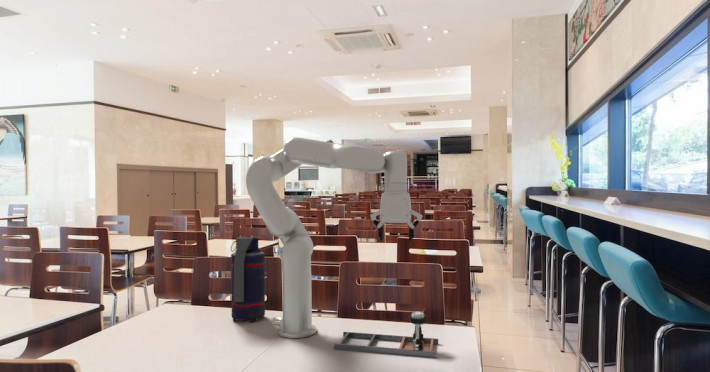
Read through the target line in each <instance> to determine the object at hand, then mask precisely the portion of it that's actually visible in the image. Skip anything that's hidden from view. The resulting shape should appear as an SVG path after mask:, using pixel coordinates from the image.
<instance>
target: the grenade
mask: <svg viewBox="0 0 710 372" xmlns="http://www.w3.org/2000/svg"><path fill="white" fill-rule="evenodd" d="M234 244H235V247H234V249H233V245H234ZM232 249H233V250H232ZM230 251H231V255H230V263H231V265H230V266H231V268H230V273H231V274H230V276H231V277H230V278H231V280H230V281H231V283H230V284H231V287H230V288H231V291H230V292H231V297H230V299H231V300H230V301H231V318H232V321H234V322H237V321H249V323H251V324H253V323H256V322H257V320H260V319H261V318H263V317H265V315H266V283H265V282H266V280H265V279H266V277H265V276H266V273H265V270H266V268H265V261H266V260H265V259H266V258H265V255H266V254H265V251H261V249H260V248H259V237H257V236H254V237H252V236H239V237H236V238H235V240H234V241H232V243H231V245H230ZM234 251H235V252H234Z"/></svg>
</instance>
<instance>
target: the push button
mask: <svg viewBox="0 0 710 372" xmlns="http://www.w3.org/2000/svg"><path fill="white" fill-rule="evenodd" d="M408 318H409V322H410V323H411V324H413V325H414V332H413V333H412V337H413V338H414V340H413V346H414V349H415V350H418V349H420V348H421V346H422V345H423V338H424V333H423V332H422V331H423V330H422V325H424V324H426V323H427V319H428V316H427V315H425V313H424V312H422V311H412V312H411V314H410V315H408Z"/></svg>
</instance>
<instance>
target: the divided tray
mask: <svg viewBox="0 0 710 372" xmlns="http://www.w3.org/2000/svg"><path fill="white" fill-rule="evenodd" d="M342 333H343V334H342V339H341V340H340V341H339V343H336V342H335V343H333V350H343V351H353V352H354V351H355V352H365V353H375V354H376V353H377V354H389V355H400V356H411V357H412V356H413V357H423V358H434V359H435V358H437V351H434V350H433V349H434V345H439V338H432V337H423V345H422V346H421V348H420V349H418V350H415V349H414V346H413V340H414V338H413V336H407V335H405V336H404V335H396V334H395V335H394V334H393V335H392V334H381V333H379V334H378V333H368V332H367V333H366V332H365V333H364V332H356V331H355V332H353V331H352V332H351V331H343V332H342ZM349 338H352V339H354V338H355V339H364V340H365V339H366V340H367V339H368V340H369V342H368V343H367V344H366V345H361V344H351V343H350V344H346V342H348V340H349ZM376 340H379V341H391V342H400V345H399V347H398V348H397V347H387V346H386V347H383V346H374V343H375V342H376Z"/></svg>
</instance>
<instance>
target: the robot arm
mask: <svg viewBox="0 0 710 372" xmlns="http://www.w3.org/2000/svg"><path fill="white" fill-rule="evenodd" d="M302 165H306V166H307V165H308V166H313V167H318V168H319V167H320V168H325V169H334V170H335V169H346V170H354V171H360V172H365V173H367V174H370V175H374V174H375V175H376V174H381V173H384V183H383V184H381V185H380V186H379V189H380V190H383V192H382V193H381V198H380V206H379V207H380V208H379V210H377V211H376V212H374V213H371V214H370V215H369V216H370V219H371V220H372V223H373V225H375V226H376V228H378V229H377V231H378V236H377V237H378V238H379V241H383V240H384V238H385V237H384V236H385V235H384V233H385V230H384V225H385V223H386V224H406V225H408V226H409V229H408V241H409V242H411V241H413V239H414V238H415V228H416V227H417V226H418V225H419V224H420V222H421V220H422V219H423V215H422V214H421V213H419V212H417V211H415V210H413V209H412V203H411V195H410V192H408V155H407V153H406V151H403V150H401V151H400V150H397V151H396V150H395V151H394V150H393V151H392V150H391V151H387V152H382V151H380V150H377V149H374V148H369V147H363V146H362V147H361V146H357V145H349V144H341V143H336V142H330V141H323V140H315V139H310V138H305V137H297V136H296V137H290V138H288V139H287V140H286V141H285V143H284V144H283V147H282V149H280V150H279V151H277V152H276V153H274V154H272V155H271V156H269V155H265V156H259V157H258V158H256V159H254V160H253V161H252V163H251V164H250V165H249V167H248V169H247V171H246V176H245V186H246V189H247V192H248V195H249V197H250V199H251V201H252V202H253V204H254V206H255V208H256V209H257V212H258V214H259V215H260V217H261V218H262V220H263V222H264V223H265V225H266V226H265V227H266V228H267V230H268V231H269V233H270V234H271V235H272V236H274V237H277V238H278V239H279V240H280V241H281V243H282V248H281V253H280V254H281V255H280V257H281V259H280V260H281V271H282V273H281V275H282V317H272V319H271V323H272V326H279V328H278V331H277V334H278V335H279V336H281V337H283V338H288V339H302V338H306V337H311V336H313V335H314V334H316V333H317V328H318V327H317V326H316V325H315V324H313V323H312V322H313V319H312V318H313V316H312V315H313V314H312V313H313V312H312V311H313V310H312V308H313V307H312V302H313V300H312V254H313V252H314V243H313V240H312V238H311V236H310V234H309V233H308V231H307V230H306V228H305V226H304V224H303V223H302V221H301V219H300V218H299V216H298V214H297V213H296V212H295V211H294V210H293V209H291V208H289V207H287V206H286V205H285V203H284V201H283V200H282V198H281V196H280V193H278V191H277V190H276V188H275V187H274V184H273V183H274V182H277V181H279V180H281V179H283V178H284V177H286V176H287V175H288V174H290V173H291V172H293V171H294V170H296V169H298V168H299V167H300V166H302ZM377 216H379V220H380V222H379V221H378V219H377ZM412 216H414V217H416V220H415V221H414V222H413V221H412Z"/></svg>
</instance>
